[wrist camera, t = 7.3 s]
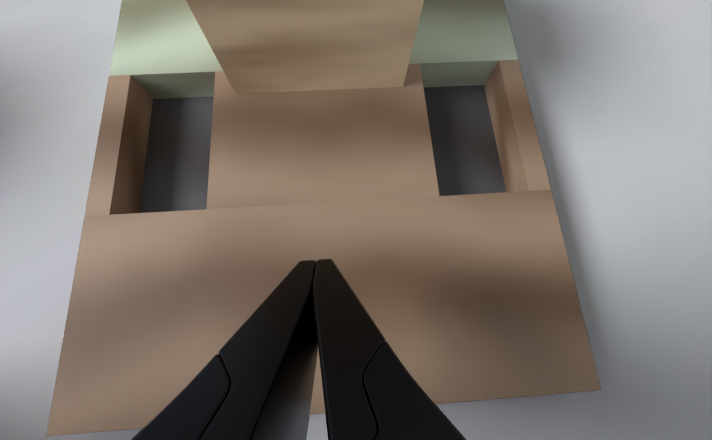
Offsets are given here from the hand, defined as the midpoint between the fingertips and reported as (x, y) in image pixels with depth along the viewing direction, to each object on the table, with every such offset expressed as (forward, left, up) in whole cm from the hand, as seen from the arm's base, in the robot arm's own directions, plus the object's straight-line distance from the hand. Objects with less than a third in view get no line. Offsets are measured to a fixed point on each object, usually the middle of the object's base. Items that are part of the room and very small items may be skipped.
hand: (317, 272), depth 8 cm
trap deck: (+6, -4, -6) cm, 10 cm away
